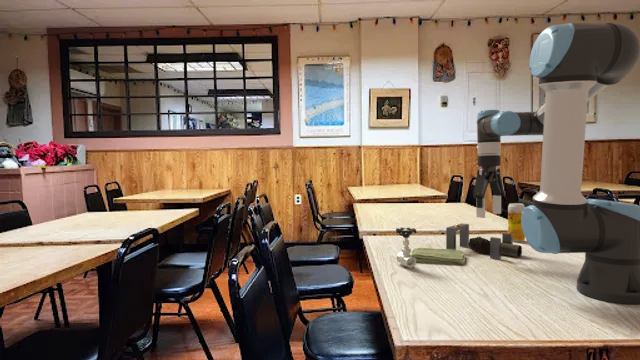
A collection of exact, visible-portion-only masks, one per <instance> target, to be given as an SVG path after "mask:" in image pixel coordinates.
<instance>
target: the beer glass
mask: <svg viewBox="0 0 640 360" xmlns="http://www.w3.org/2000/svg"><path fill="white" fill-rule="evenodd" d="M525 207H526V206H525V204H524V203H518V202H515V203H514V202H513V203H512V202H511V203H509V204H508V206H507V233H511V234H513V242H514V243H523V242H524V241H525V240H526V238H525V236H524V233H523V229H522V223H521V216H522V212H523V210H524V208H525Z"/></svg>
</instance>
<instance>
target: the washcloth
mask: <svg viewBox="0 0 640 360" xmlns="http://www.w3.org/2000/svg"><path fill="white" fill-rule="evenodd" d="M410 255H411V256H412V257H413V258H415V259H416V263H420V264H434V265H435V264H437V265H440V264H441V265H444V264H445V265H459V266H463V265H465V260H466V257H465V251H463V250H459V249H456V250H453V249H446V248H432V247H431V248H430V247H417V248H413V249H412V250H411V253H410Z"/></svg>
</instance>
